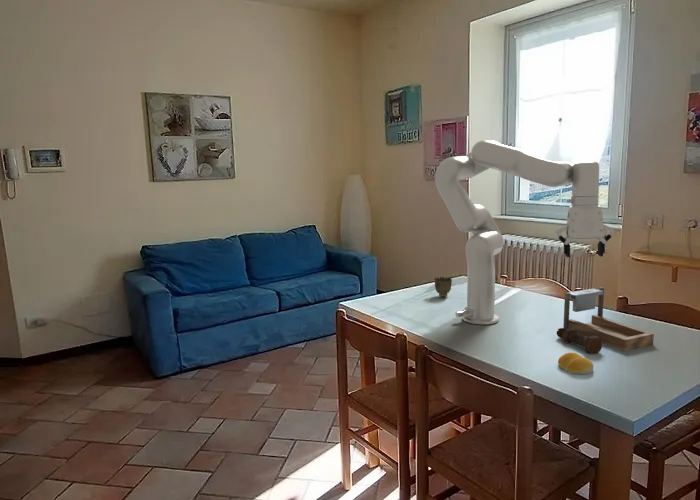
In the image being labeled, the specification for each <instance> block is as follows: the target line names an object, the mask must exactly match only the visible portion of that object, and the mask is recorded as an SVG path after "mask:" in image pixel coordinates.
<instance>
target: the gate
mask: <svg viewBox="0 0 700 500" xmlns="http://www.w3.org/2000/svg"><path fill="white" fill-rule="evenodd" d="M567 293H570V299H572V312H575V313H577V312H584V311H590V310H595V309H596V302H597V301H596V297H597V296H599V295H603V291H601V290H599V289H598V288H597V289H596V288H589V289H581V290H576V291H569V292H567Z"/></svg>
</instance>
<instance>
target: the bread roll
mask: <svg viewBox="0 0 700 500" xmlns="http://www.w3.org/2000/svg"><path fill="white" fill-rule="evenodd" d="M557 364H558V367H560V368H561V369H563V370H564V371H567V372H568V373H570V374H573V375H574V374H575V375H589V374H591V373H592V372H594V371H593V370H594V364H593V361H592V360H590V359H589V358H586V357H583V356H582V355H580V354H579V353H576V352H565V353H564V354H563V355H561V356H559V358H558V360H557Z"/></svg>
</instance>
